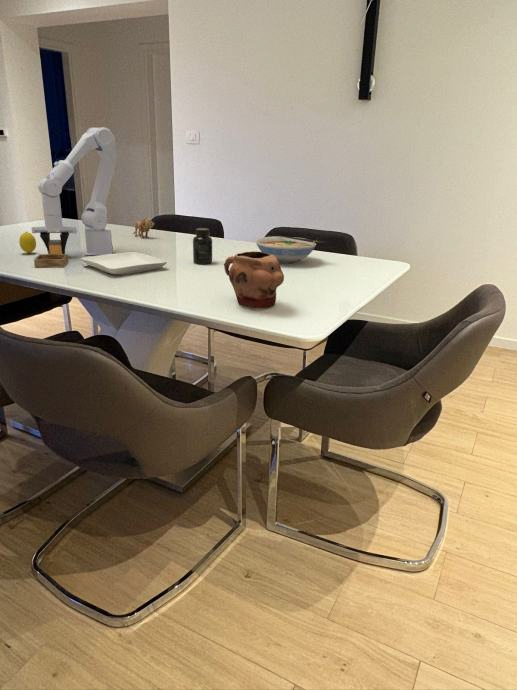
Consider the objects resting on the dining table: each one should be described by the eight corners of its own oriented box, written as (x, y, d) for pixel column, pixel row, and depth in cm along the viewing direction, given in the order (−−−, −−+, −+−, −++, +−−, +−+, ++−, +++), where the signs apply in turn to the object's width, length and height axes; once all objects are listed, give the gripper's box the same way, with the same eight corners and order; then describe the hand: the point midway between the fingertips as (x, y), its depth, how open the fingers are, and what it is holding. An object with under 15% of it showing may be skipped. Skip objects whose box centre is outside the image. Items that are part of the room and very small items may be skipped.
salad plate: (134, 259, 187) (134, 250, 185) (169, 270, 173) (168, 260, 172) (80, 267, 173) (79, 257, 171) (112, 279, 159) (111, 268, 157)
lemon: (26, 255, 184) (23, 233, 181) (17, 253, 187) (15, 231, 184) (40, 253, 188) (37, 231, 185) (32, 251, 191) (29, 230, 188)
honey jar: (64, 256, 186) (62, 239, 183) (62, 258, 182) (60, 241, 180) (52, 256, 185) (50, 239, 183) (50, 258, 181) (48, 241, 179)
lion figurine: (156, 239, 226) (155, 218, 223) (146, 240, 223) (145, 218, 219) (138, 234, 236) (137, 214, 232) (127, 235, 232) (126, 214, 229)
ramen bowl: (239, 259, 192) (240, 237, 189) (279, 252, 208) (280, 232, 205) (291, 271, 176) (292, 247, 174) (330, 263, 192) (332, 241, 189)
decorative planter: (208, 302, 139) (208, 250, 134) (235, 293, 148) (236, 244, 143) (269, 317, 129) (272, 262, 124) (294, 306, 138) (297, 255, 133)
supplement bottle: (215, 262, 186) (216, 228, 182) (206, 265, 180) (206, 231, 176) (199, 260, 188) (199, 226, 184) (189, 263, 183) (189, 229, 178)
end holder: (68, 261, 178) (67, 254, 178) (64, 267, 170) (63, 259, 169) (40, 261, 177) (39, 254, 176) (34, 267, 168) (33, 259, 167)
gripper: (76, 213, 183) (79, 251, 188) (32, 212, 180) (37, 251, 185) (73, 216, 177) (77, 255, 181) (28, 215, 174) (33, 255, 179)
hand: (56, 253), depth 183 cm, fingers closed on honey jar, 4 cm apart
